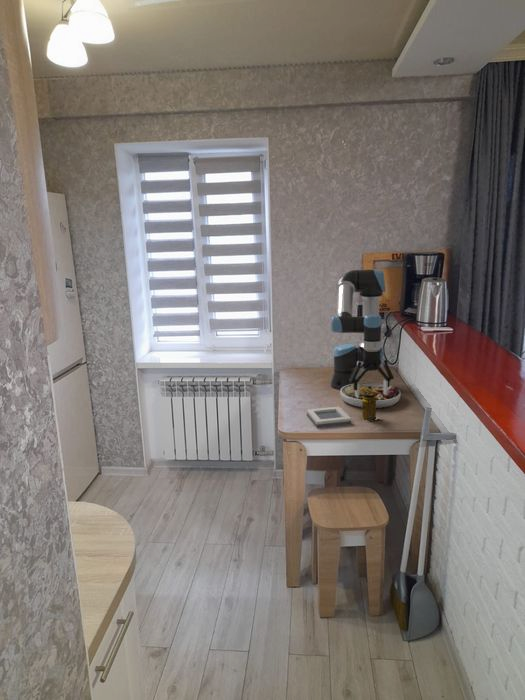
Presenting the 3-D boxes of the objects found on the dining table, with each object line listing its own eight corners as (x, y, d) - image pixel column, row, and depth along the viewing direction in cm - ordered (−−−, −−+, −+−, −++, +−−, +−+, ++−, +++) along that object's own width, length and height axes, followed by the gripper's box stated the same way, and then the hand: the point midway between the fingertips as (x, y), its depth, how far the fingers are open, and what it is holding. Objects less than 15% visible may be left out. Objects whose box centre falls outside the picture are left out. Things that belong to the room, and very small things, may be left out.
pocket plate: (306, 415, 221) (306, 409, 221) (338, 411, 224) (338, 406, 224) (316, 427, 206) (316, 422, 205) (351, 424, 209) (351, 418, 208)
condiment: (358, 416, 217) (359, 392, 214) (375, 414, 219) (375, 390, 216) (365, 422, 210) (366, 397, 208) (383, 420, 212) (383, 395, 210)
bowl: (341, 410, 227) (341, 394, 225) (339, 391, 256) (339, 377, 254) (404, 411, 223) (405, 395, 221) (395, 391, 252) (396, 377, 250)
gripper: (348, 353, 202) (348, 400, 206) (402, 349, 206) (400, 395, 210) (342, 350, 209) (342, 395, 213) (394, 346, 213) (393, 390, 218)
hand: (371, 395), depth 212 cm, fingers open, 13 cm apart
